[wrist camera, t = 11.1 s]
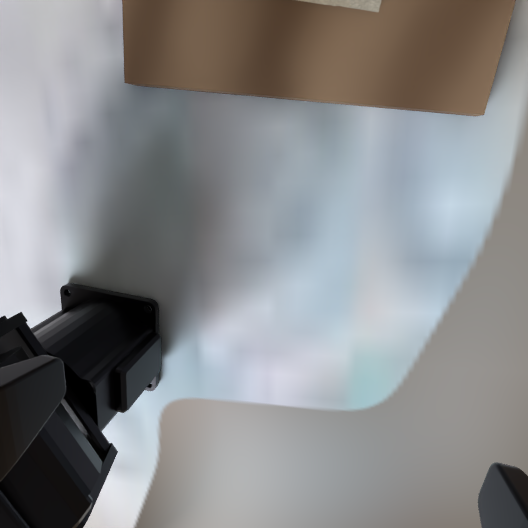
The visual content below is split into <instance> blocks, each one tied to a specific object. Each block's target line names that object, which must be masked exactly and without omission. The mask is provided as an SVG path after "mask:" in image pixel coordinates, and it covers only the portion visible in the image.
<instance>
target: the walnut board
mask: <svg viewBox="0 0 528 528" xmlns="http://www.w3.org/2000/svg"><path fill="white" fill-rule="evenodd" d="M515 1H516V0H382V1H381V4H380V8H379V12H373V11H367V10H361V9H354V8H347V7H342V6H332V5H324V4H317V3H311V2H304V1H298V0H122V4H123V40H124V76H125V83H128V84H132V85H137V86H146V87H157V88H168V89H179V90H190V91H201V92H212V93H223V94H234V95H246V96H257V97H268V98H279V99H290V100H301V101H312V102H323V103H334V104H345V105H356V106H367V107H379V108H390V109H401V110H412V111H423V112H434V113H445V114H456V115H467V116H480V115H484V113H485V109H486V105H487V102H488V98H489V95H490V91H491V88H492V84H493V80H494V77H495V73H496V70H497V66H498V62H499V59H500V55H501V52H502V48H503V44H504V41H505V37H506V34H507V30H508V26H509V23H510V19H511V16H512V12H513V8H514V5H515Z"/></svg>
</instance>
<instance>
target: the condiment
mask: <svg viewBox="0 0 528 528" xmlns="http://www.w3.org/2000/svg"><path fill="white" fill-rule="evenodd" d="M298 1H304V2H311V3H317V4H324V5H332V6H342V7H347V8H354V9H361V10H367V11H373V12H379V8H380V4H381V1H382V0H298Z"/></svg>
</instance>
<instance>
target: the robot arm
mask: <svg viewBox="0 0 528 528" xmlns="http://www.w3.org/2000/svg"><path fill="white" fill-rule="evenodd" d="M68 290H69V291H70V292H71V294H70V293H69V291H68ZM60 294H61V304H62V310H61V311H60V312H58V313H56V314H55V315H53V316H51V317H50V318H48V319H46V320H45V321H43V322H41V323H40V324H38V325H36V326H35V327H33V328H31V329H30V328H29V326H28V325H27V323H26V322H27V319H26V318H25V317H24V315H23V314H22V312H20V313H18V314H16V315H14V316H13V317H11V318H9V319H7V318H6V316H3V317H1V318H0V528H83V527H84V525H85V524H86V522H87V520H88V518H89V516H90V514H91V512H92V509H93V507H94V505H95V503H96V500H97V498H98V496H99V493H100V491H101V489H102V487H103V484H104V482H105V480H106V478H107V475H108V473H109V471H110V468H111V466H112V464H113V462H114V459H115V457H116V455H117V452H118V451H117V450H116V448H115V447H114V446H113V444H112V443H109V442H108V440H107V439H106V438H105V436H104V435H103V433H102V432H101V431H102V430H103V429H104V428H105V427H106V425H107V424H108V423H109V422H110V421H111V420H112V418H113V417H114V416H115V415H116V414H117V412H122V413H124V412H126V411H127V410H128V409H129V408H130V407H131V406H132V405H133V403H134V402H135V401H136V400H137V398H138V397H139V396H140V395H141V394H142V392H143V391H144V390H147V391H153V390H154V389H155V388H156V387H157V386H158V383H159V372H160V370H161V336H160V334H159V307H158V304H157V302H156V301H154V300H152V299H148V298H143V297H138V296H133V295H128V294H123V293H118V292H113V291H108V290H102V289H97V288H92V287H87V286H82V285H77V284H72V283H68V284H66V285H64V286H62V287H61V289H60ZM147 305H148V306H150V307H151V309H152V310H150V309H148V307H147ZM150 383H152V384H150ZM478 508H479V513H480V520H481V525H482V528H528V476H527V475H526V474H525V473H524V472H523V471H522V470H520V469H519V468H517V467H515V466H510V465H505V464H502V463H493V464H492V465H491V466H490V468H489V470H488V473H487V475H486V478H485V480H484V483H483V485H482V487H481V490H480V493H479V498H478Z"/></svg>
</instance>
